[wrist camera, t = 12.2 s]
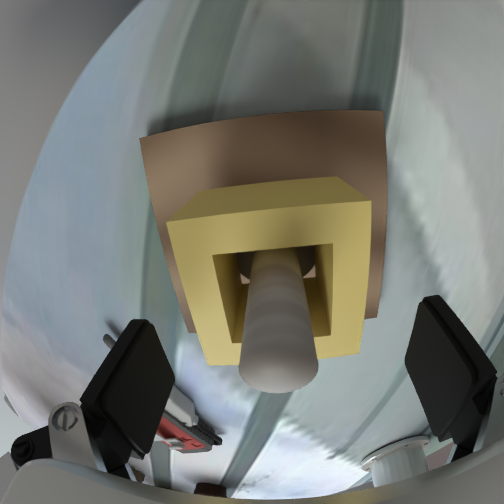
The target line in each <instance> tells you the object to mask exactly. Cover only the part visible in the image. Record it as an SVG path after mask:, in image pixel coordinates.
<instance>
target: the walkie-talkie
mask: <svg viewBox="0 0 504 504" xmlns="http://www.w3.org/2000/svg"><path fill="white" fill-rule="evenodd" d="M103 341H104V343H105V344H106V345H107V346H108V347H109V348H110V349H112V347H113V346H114V344H115V343H116V342H115V341H114V340H113V339H112V337H111V336H109V335H108V334H105V335H104V337H103ZM214 433H215V430H213V429H211V428H210V427H208V426H207V425H206V424H205V423H203V422H202V421H200V420H199V417H198V416H197V415H196V414H195V405H194V403H193V402H192V401H191V400H190V399H189V398H188V397H186V396H185V395H184V394H183V393H182V392H181V391H179V390H178V389H177V388H176V386H175V385H173V388H172V391H171V393H170V396H169V399H168V401H167V404H166V407H165V410H164V413H163V415H162V418H161V421H160V424H159V427H158V429H157V432H156V435H155V438H154V441H162V442H163V443H165V444H167V445H168V446H169V449H170V450H174V449H175V450H177V451H179V452H181V453H197V452H208V451H210V450H212V445H221V444H222V439H221V438H220V437H219V436H217V435H216V434H214Z"/></svg>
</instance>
